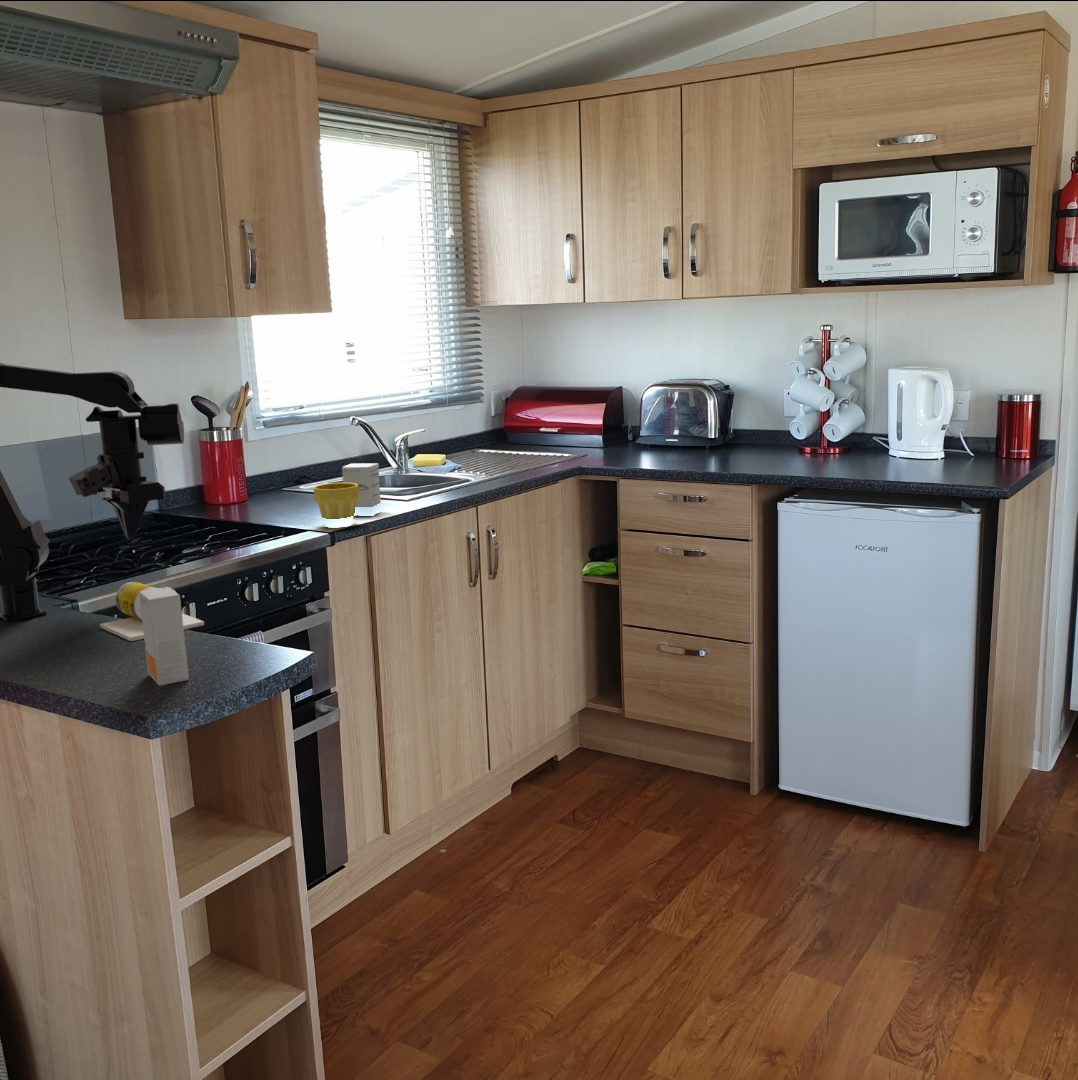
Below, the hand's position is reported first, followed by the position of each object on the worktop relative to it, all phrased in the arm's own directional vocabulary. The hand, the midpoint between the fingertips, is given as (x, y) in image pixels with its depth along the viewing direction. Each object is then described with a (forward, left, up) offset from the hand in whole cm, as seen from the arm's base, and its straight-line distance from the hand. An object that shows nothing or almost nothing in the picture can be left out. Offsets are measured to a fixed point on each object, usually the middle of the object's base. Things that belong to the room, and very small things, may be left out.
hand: (130, 538), depth 188 cm
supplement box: (-47, +78, -12) cm, 92 cm away
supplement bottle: (+6, -4, -9) cm, 11 cm away
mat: (+15, -4, -12) cm, 20 cm away
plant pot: (-38, +65, -12) cm, 76 cm away
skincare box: (+43, -14, -12) cm, 47 cm away
